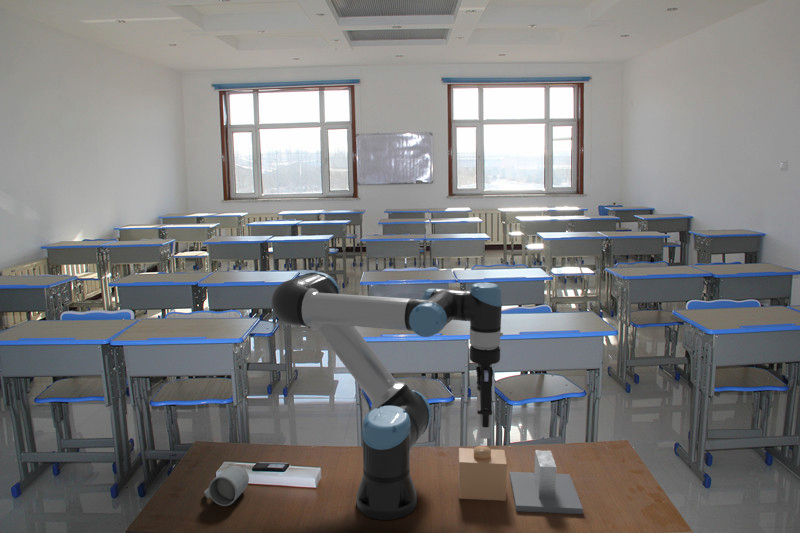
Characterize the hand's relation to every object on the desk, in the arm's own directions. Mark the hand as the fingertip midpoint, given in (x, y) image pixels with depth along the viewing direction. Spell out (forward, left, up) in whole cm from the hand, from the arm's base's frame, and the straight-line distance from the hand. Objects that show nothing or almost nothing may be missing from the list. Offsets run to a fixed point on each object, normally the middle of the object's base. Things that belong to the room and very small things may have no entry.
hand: (483, 425), depth 147 cm
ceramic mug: (-66, -8, -18) cm, 69 cm away
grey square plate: (+16, 0, -18) cm, 24 cm away
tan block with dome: (0, 0, -18) cm, 18 cm away
